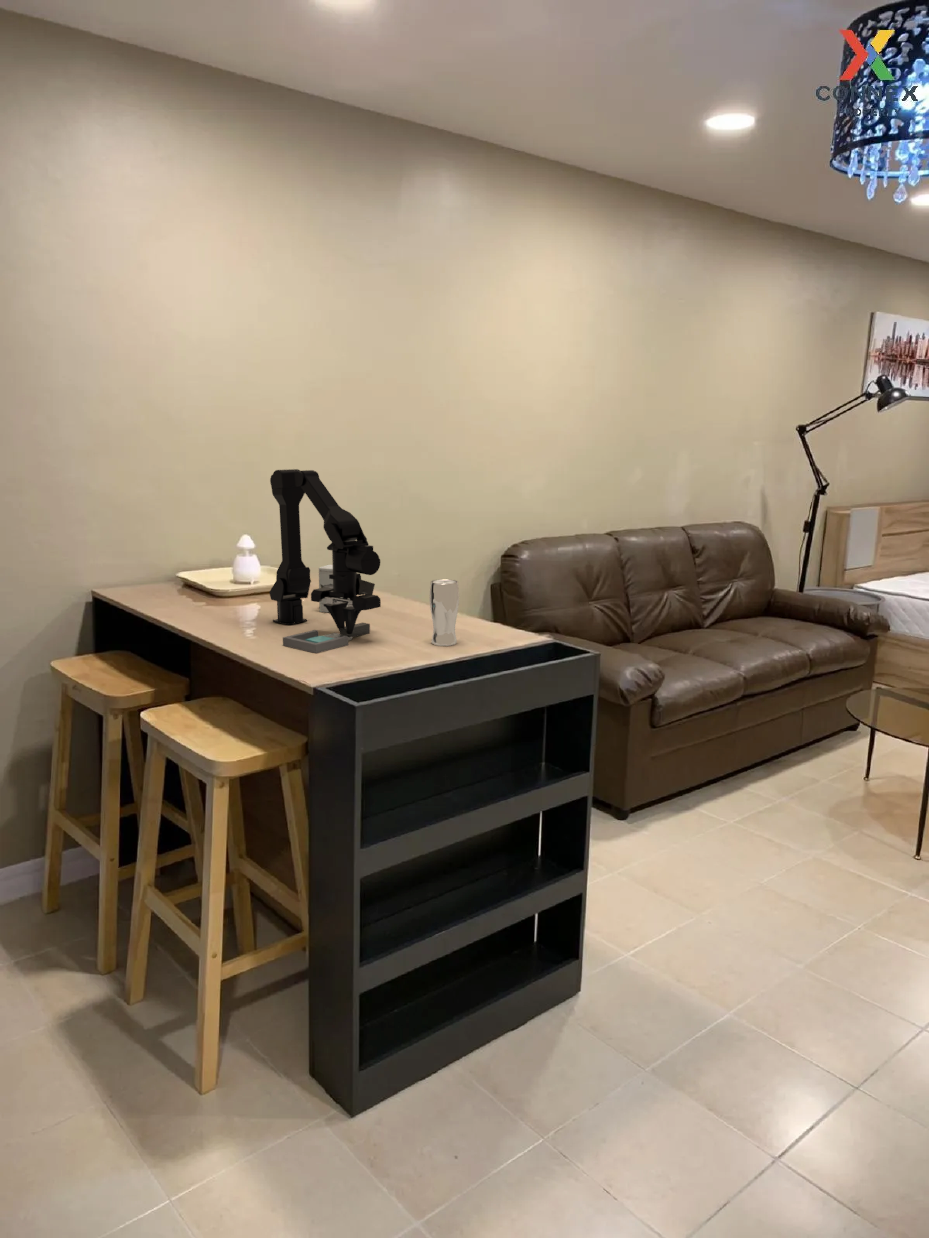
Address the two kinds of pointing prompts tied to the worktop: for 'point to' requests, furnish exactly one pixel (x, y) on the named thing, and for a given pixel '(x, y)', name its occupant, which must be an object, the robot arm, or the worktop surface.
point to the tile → (318, 639)
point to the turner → (357, 631)
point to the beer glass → (444, 611)
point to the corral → (300, 643)
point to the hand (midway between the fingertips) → (346, 632)
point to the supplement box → (325, 583)
